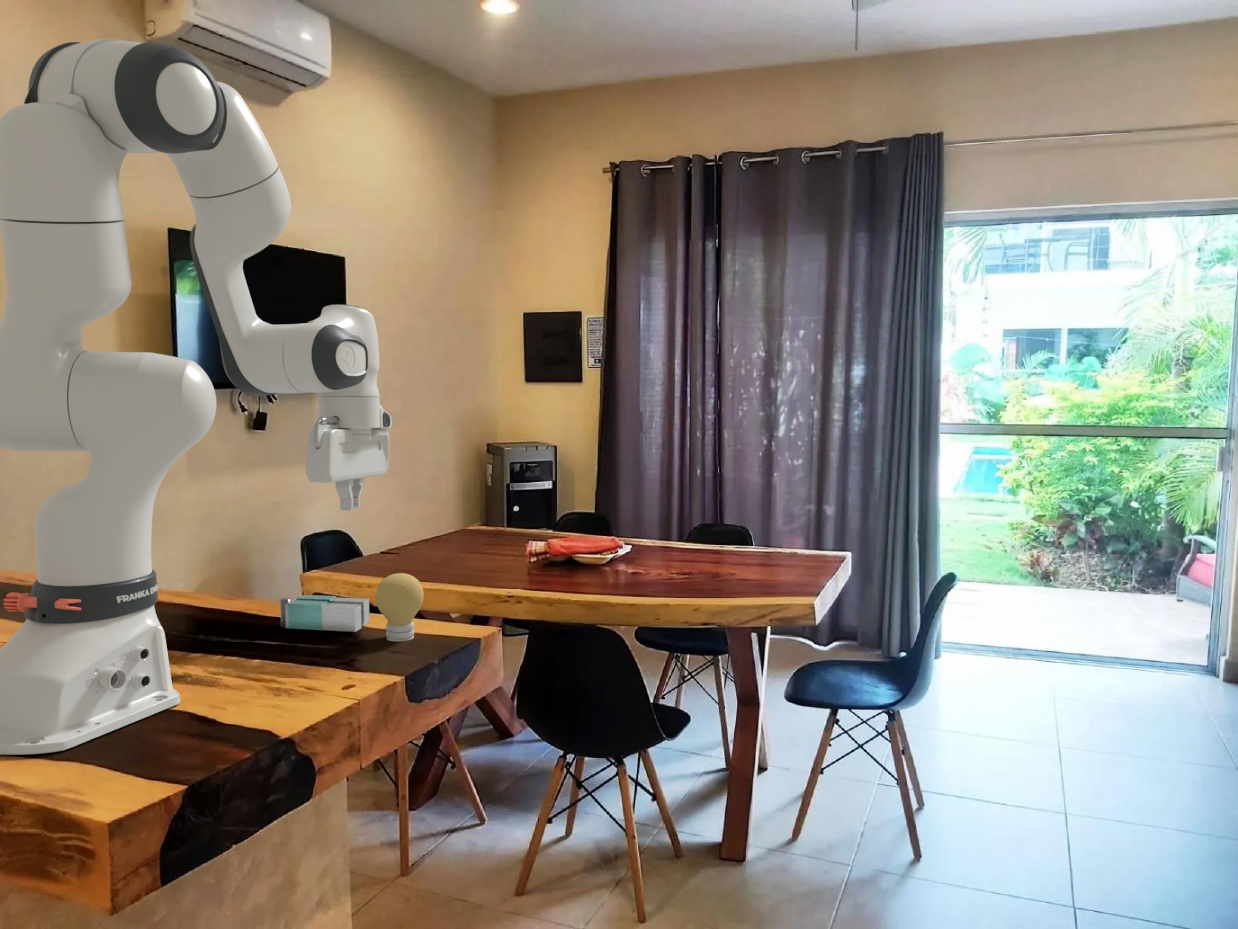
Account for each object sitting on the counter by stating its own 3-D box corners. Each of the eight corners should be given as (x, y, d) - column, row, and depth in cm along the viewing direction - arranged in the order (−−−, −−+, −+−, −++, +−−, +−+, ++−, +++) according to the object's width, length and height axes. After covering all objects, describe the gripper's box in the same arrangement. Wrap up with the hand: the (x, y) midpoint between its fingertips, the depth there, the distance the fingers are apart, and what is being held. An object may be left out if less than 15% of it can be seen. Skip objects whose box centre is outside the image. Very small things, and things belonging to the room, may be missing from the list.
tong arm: (363, 626, 129) (363, 600, 128) (293, 623, 130) (293, 598, 130) (369, 622, 131) (369, 597, 131) (300, 619, 132) (300, 594, 132)
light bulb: (375, 653, 120) (373, 579, 119) (377, 640, 126) (376, 569, 125) (424, 651, 121) (423, 577, 120) (424, 637, 127) (423, 568, 126)
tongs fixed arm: (355, 632, 126) (354, 604, 126) (277, 628, 128) (276, 600, 127) (361, 628, 128) (361, 601, 128) (285, 624, 130) (284, 597, 130)
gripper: (336, 416, 123) (337, 517, 123) (396, 417, 143) (397, 503, 144) (293, 416, 124) (294, 516, 124) (359, 417, 144) (360, 503, 145)
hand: (350, 509), depth 134 cm, fingers closed
